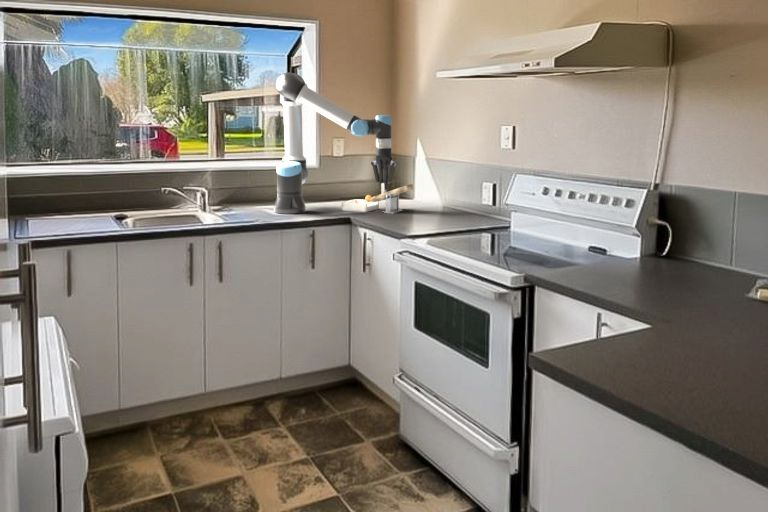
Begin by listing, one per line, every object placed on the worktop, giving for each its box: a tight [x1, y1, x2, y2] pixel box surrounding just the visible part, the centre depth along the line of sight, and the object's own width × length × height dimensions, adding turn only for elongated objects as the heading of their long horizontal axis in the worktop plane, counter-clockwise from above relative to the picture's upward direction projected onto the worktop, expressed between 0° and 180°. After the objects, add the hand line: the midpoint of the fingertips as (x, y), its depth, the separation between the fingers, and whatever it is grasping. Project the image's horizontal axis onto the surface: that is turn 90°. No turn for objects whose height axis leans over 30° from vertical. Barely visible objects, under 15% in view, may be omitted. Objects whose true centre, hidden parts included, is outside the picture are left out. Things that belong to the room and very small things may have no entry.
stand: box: [381, 193, 403, 214], centre depth 354 cm, size 6×11×9 cm, turn 156°
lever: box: [370, 183, 414, 203], centre depth 356 cm, size 20×14×2 cm
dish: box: [341, 198, 380, 213], centre depth 361 cm, size 13×14×4 cm
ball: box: [364, 194, 373, 202], centre depth 359 cm, size 4×4×4 cm
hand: (383, 196), depth 363 cm, fingers closed
